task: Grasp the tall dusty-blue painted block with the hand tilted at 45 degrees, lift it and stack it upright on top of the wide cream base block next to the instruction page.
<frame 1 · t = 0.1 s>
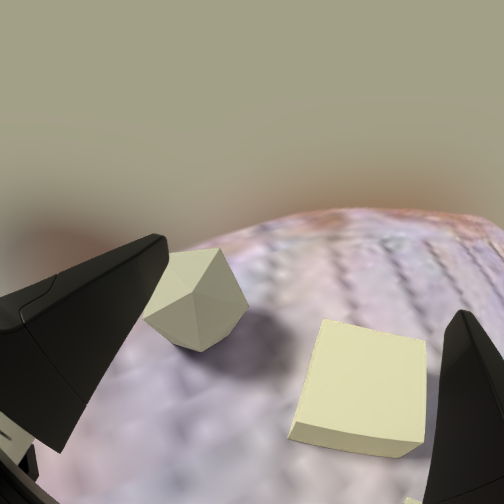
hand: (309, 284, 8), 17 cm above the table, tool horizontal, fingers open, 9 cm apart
base brick: (355, 401, 21), on the table
die: (197, 328, 27), on the table
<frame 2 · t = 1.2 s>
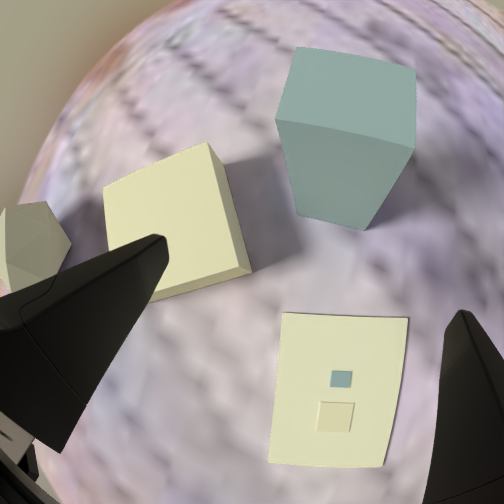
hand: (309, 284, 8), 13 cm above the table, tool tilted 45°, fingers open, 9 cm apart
base brick: (183, 233, 24), on the table
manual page: (337, 397, 19), on the table
die: (55, 253, 27), on the table
blue brick: (336, 197, 22), on the table
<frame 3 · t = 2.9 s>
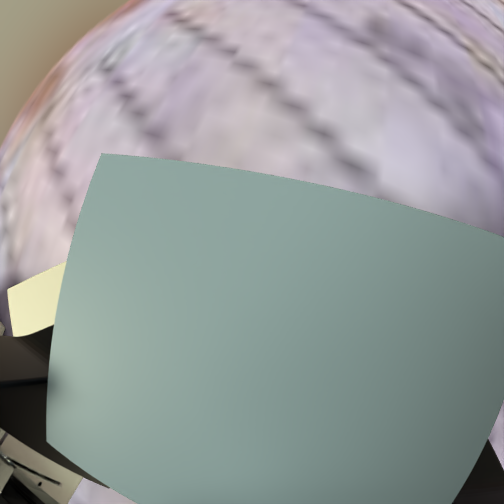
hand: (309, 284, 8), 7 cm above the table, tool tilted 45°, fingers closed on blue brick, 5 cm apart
base brick: (104, 347, 17), on the table
blue brick: (304, 318, 15), on the table, touching gripper
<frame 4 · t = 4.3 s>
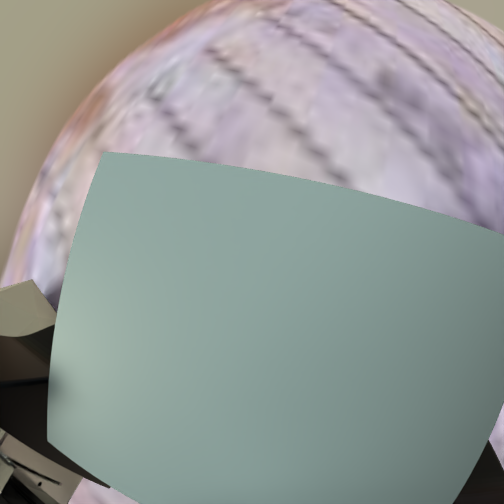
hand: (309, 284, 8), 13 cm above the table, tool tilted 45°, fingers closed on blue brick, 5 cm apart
die: (47, 324, 26), on the table
blue brick: (305, 318, 15), point 7 cm above the table, touching gripper
when the fingers open (11 cm above the table, at t = 5.9 s): blue brick stays where it is, resting on base brick.
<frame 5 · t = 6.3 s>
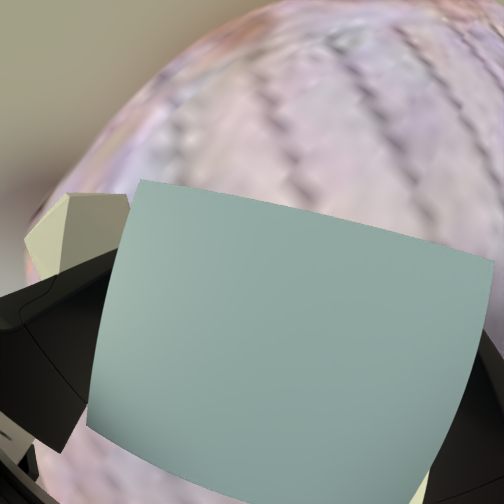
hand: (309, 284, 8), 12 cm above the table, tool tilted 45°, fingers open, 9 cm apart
die: (118, 257, 23), on the table
blue brick: (305, 317, 15), point 4 cm above the table, touching base brick
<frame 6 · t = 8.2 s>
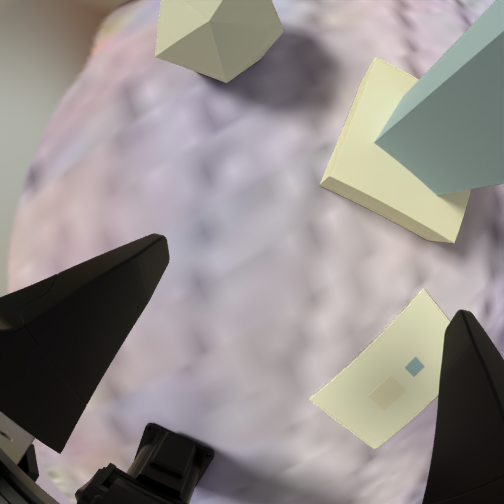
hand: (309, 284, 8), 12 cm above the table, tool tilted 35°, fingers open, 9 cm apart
base brick: (397, 157, 19), on the table
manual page: (400, 379, 21), on the table
die: (226, 51, 20), on the table
blue brick: (421, 144, 16), point 4 cm above the table, touching base brick
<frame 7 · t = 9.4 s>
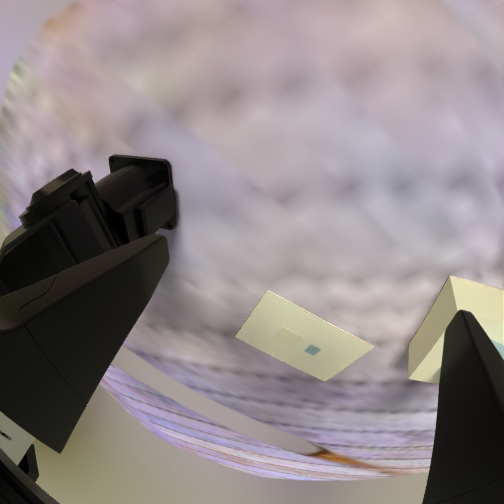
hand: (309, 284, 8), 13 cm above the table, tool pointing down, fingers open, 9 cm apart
base brick: (467, 322, 22), on the table
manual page: (301, 342, 30), on the table
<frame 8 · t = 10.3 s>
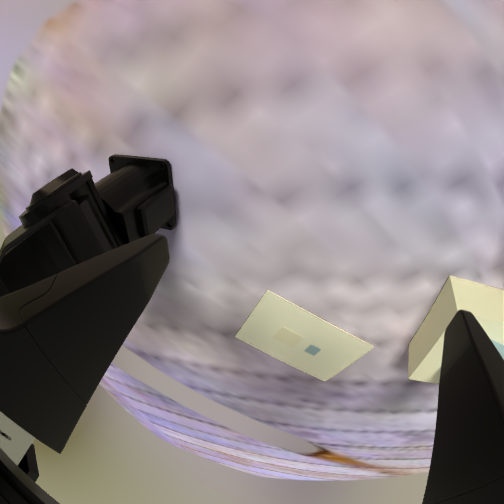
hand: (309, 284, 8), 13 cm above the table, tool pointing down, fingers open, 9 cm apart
base brick: (467, 322, 22), on the table
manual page: (301, 342, 30), on the table
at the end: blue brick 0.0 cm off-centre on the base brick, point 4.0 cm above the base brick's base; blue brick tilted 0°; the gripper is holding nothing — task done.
